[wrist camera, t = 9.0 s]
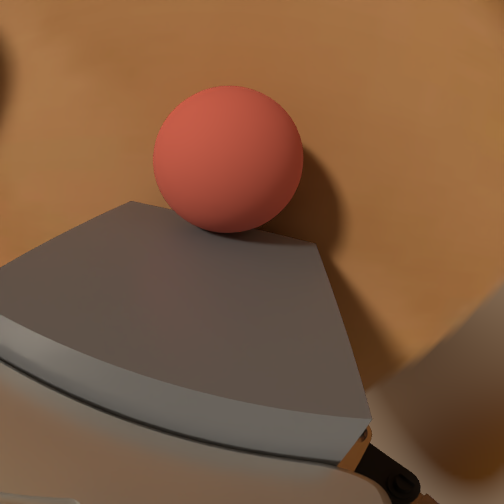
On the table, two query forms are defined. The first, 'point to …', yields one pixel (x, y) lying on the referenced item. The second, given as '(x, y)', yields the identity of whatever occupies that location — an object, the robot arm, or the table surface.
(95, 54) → the table surface
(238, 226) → the ball
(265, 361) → the matte gray cube
